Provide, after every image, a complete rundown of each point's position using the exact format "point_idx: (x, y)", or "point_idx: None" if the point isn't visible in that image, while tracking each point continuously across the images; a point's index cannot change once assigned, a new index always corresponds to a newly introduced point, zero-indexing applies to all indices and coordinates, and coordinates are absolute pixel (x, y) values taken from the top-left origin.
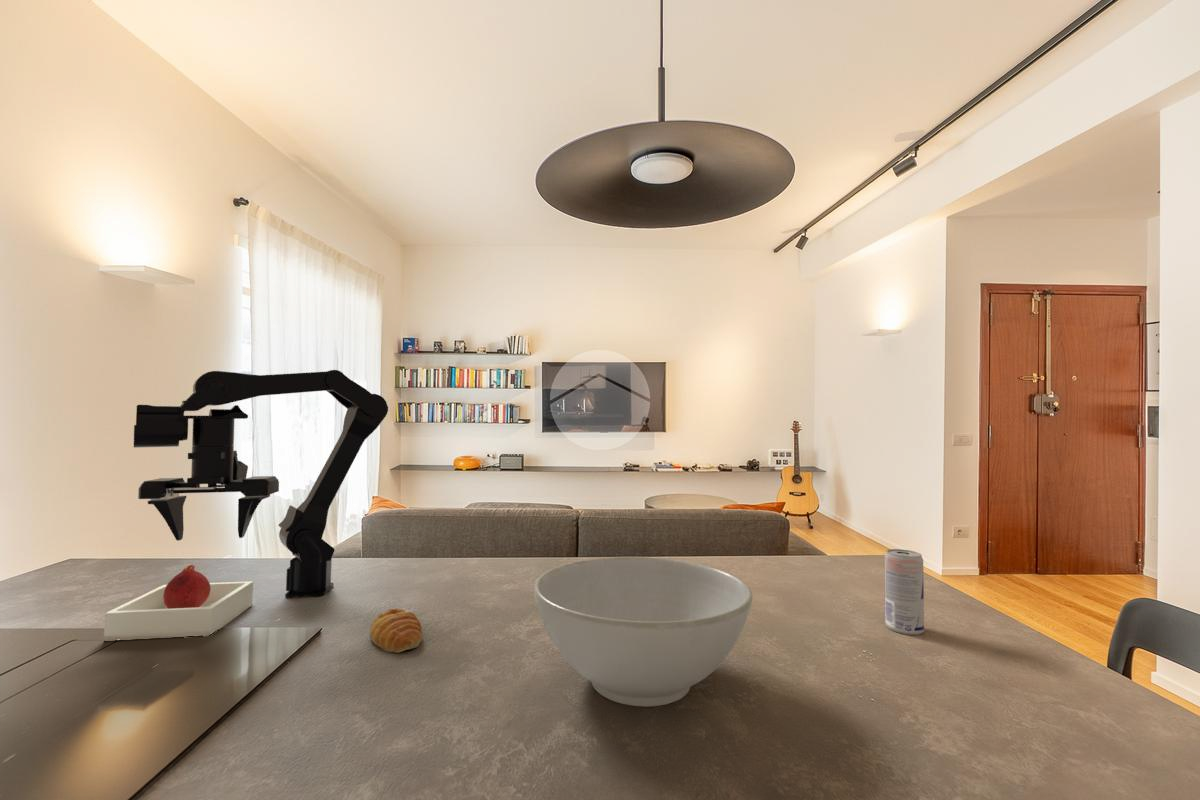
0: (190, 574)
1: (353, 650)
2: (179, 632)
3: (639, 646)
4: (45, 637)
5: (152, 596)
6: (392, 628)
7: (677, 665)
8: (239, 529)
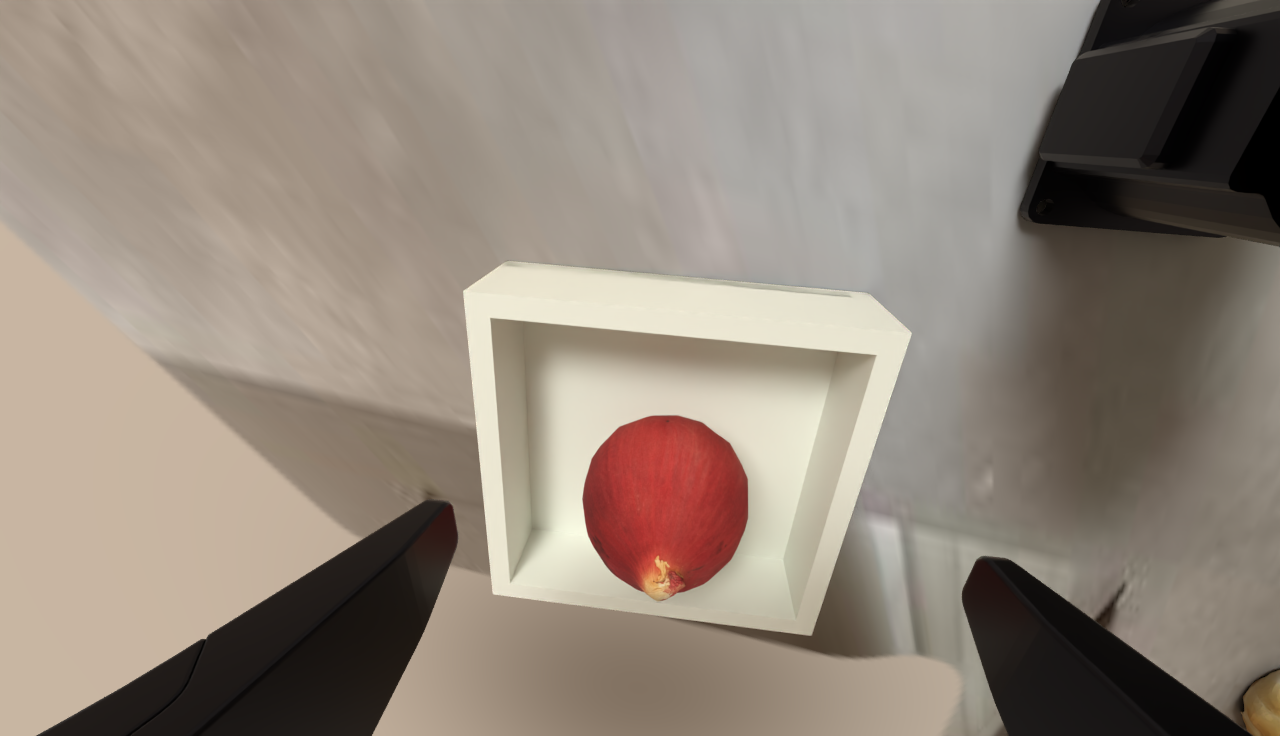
0: (683, 589)
1: None
2: None
3: None
4: (334, 456)
5: (502, 404)
6: None
7: None
8: (1015, 713)
